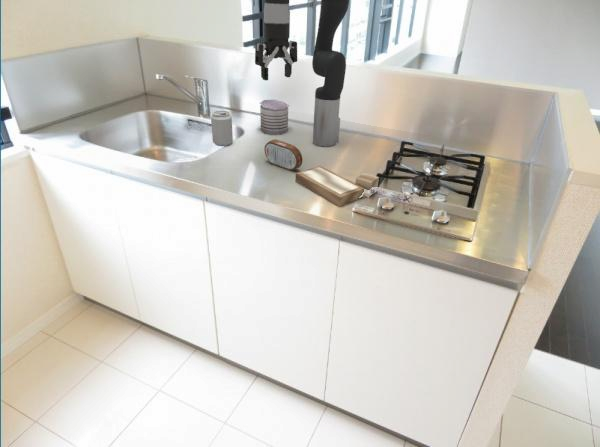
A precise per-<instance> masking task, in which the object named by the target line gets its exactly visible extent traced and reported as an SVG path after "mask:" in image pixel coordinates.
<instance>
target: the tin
mask: <svg viewBox="0 0 600 447" xmlns="http://www.w3.org/2000/svg"><path fill="white" fill-rule="evenodd" d="M264 154H265V158H266V159H267V160H268V162H269V163H270V164H272V165H274V166H277V167H279V168H282V169H285V170H288V171H295V170H297V169H299V168H300V167H301V166H302V165H303V156H302V153H301V150H300V149H299V148H298V147H297V146H295V145H293V144H290V143H287V142H284V141H282V140H280V139H279V140H278V139H272V140H270V141H268V142H267V143H265V145H264Z"/></svg>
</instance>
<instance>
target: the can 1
mask: <svg viewBox="0 0 600 447" xmlns="http://www.w3.org/2000/svg"><path fill="white" fill-rule="evenodd" d="M210 123H211V135H212V143H213V144H215V146H218V147H227V146H229V145H232V143H233V142H234V139H233V138H234V137H233V135H234V134H233V118H232V115H231V113H230V111H228V110H222V109H221V110H220V109H219V110H215V111H213V112H212V115H211V116H210Z"/></svg>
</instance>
